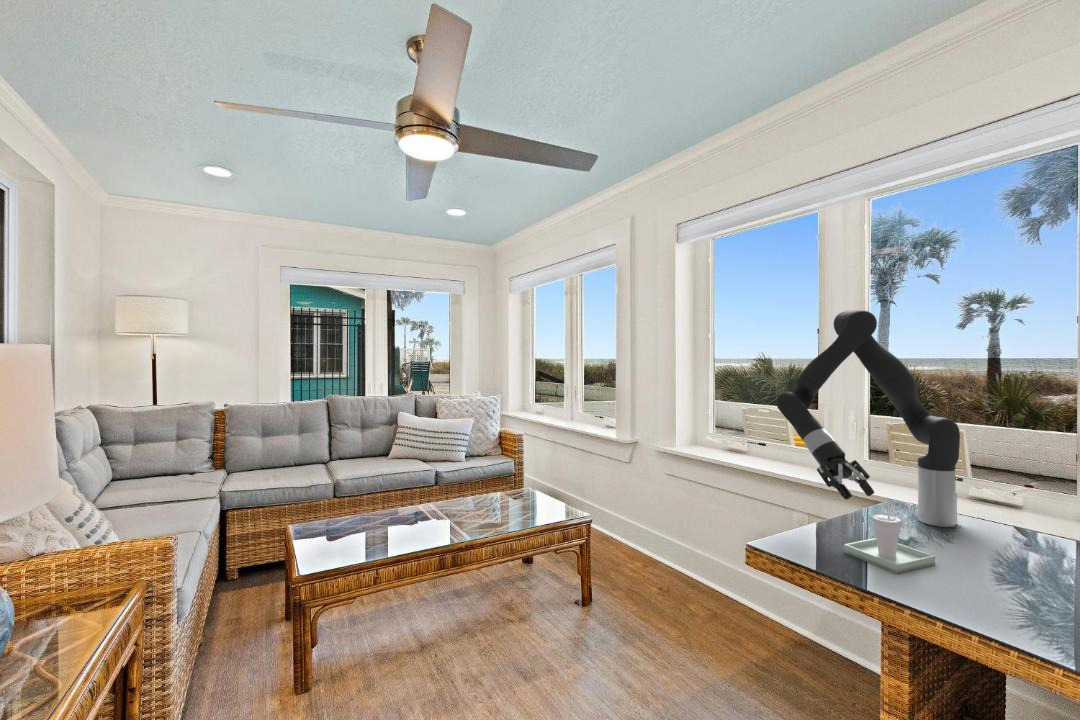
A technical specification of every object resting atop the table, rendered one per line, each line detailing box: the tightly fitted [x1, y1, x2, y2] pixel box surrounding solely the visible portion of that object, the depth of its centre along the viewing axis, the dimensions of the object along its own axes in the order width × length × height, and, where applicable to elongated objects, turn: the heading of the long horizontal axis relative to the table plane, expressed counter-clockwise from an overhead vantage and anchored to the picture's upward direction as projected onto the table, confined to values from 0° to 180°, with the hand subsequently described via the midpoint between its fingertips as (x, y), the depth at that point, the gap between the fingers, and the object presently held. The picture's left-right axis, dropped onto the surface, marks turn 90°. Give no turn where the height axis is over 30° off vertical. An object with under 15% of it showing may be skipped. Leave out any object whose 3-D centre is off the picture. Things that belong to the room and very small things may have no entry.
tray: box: [843, 537, 936, 575], centre depth 129 cm, size 14×14×2 cm
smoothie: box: [871, 501, 903, 558], centre depth 129 cm, size 6×6×14 cm
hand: (860, 496), depth 136 cm, fingers open, 8 cm apart
